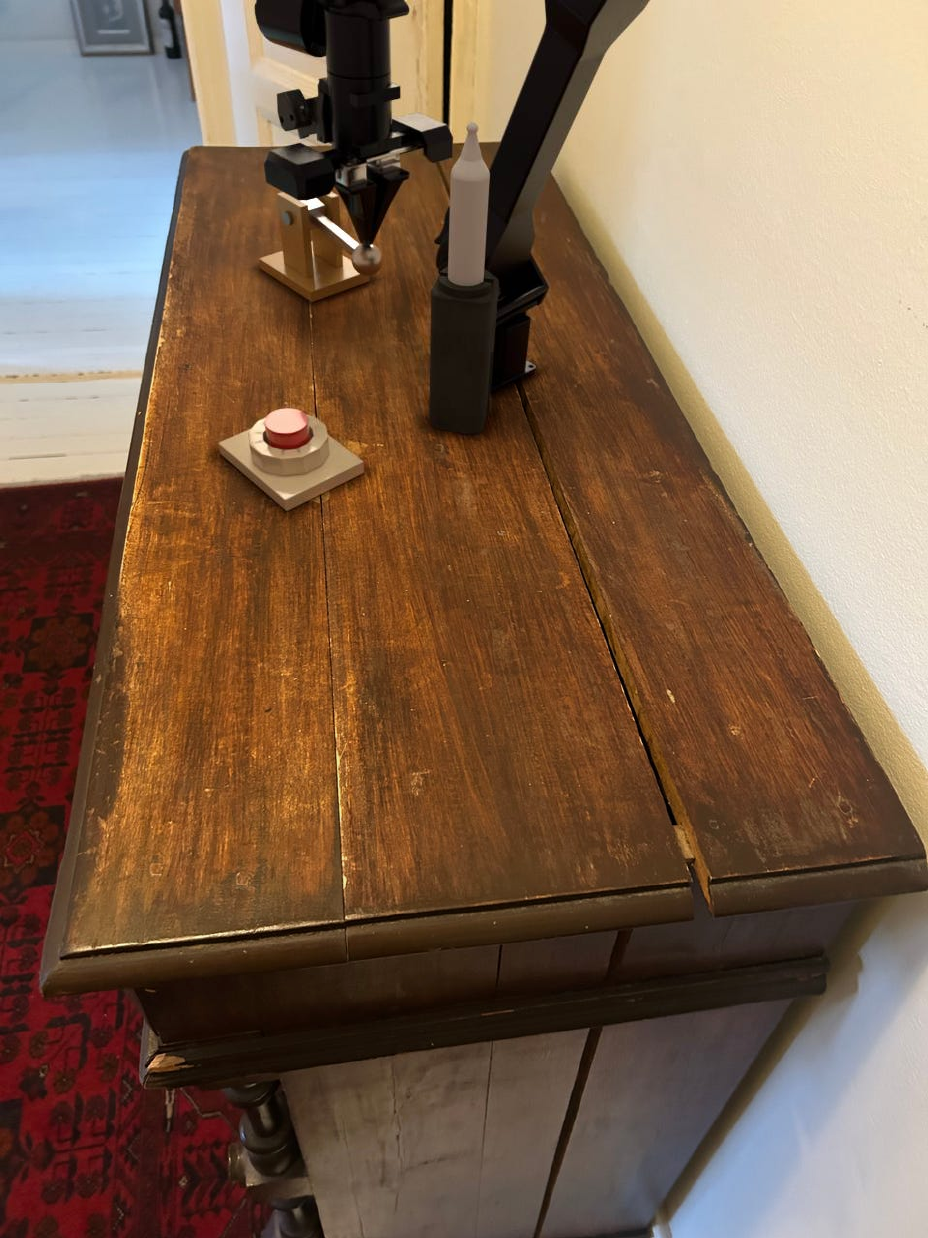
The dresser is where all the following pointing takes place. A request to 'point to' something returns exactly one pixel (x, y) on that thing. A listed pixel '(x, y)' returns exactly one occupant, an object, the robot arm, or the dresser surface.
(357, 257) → the tap lever
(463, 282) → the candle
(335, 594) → the dresser surface
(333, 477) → the button block
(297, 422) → the button
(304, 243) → the tap bracket
